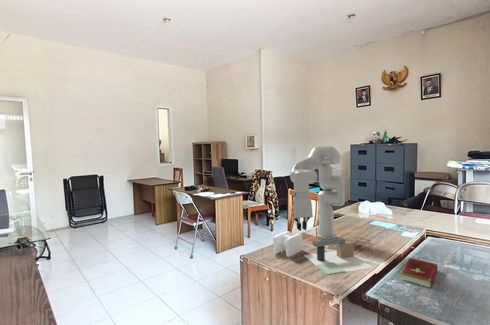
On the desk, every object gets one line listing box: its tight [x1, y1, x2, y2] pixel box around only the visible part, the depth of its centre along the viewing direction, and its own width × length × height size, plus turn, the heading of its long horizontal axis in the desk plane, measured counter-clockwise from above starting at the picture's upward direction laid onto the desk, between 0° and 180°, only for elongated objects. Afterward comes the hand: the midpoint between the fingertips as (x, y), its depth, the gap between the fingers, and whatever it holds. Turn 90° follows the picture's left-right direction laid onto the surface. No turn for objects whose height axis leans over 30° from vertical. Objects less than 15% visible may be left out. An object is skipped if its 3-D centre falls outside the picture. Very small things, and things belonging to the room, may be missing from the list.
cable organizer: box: [272, 230, 304, 258], centre depth 157 cm, size 15×11×12 cm
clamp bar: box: [312, 237, 346, 248], centre depth 146 cm, size 3×18×2 cm, turn 105°
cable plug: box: [316, 246, 326, 261], centre depth 145 cm, size 4×4×7 cm
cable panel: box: [303, 239, 373, 276], centre depth 143 cm, size 24×26×9 cm
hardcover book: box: [399, 257, 438, 288], centre depth 129 cm, size 12×21×4 cm, turn 139°
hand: (301, 229), depth 141 cm, fingers closed
